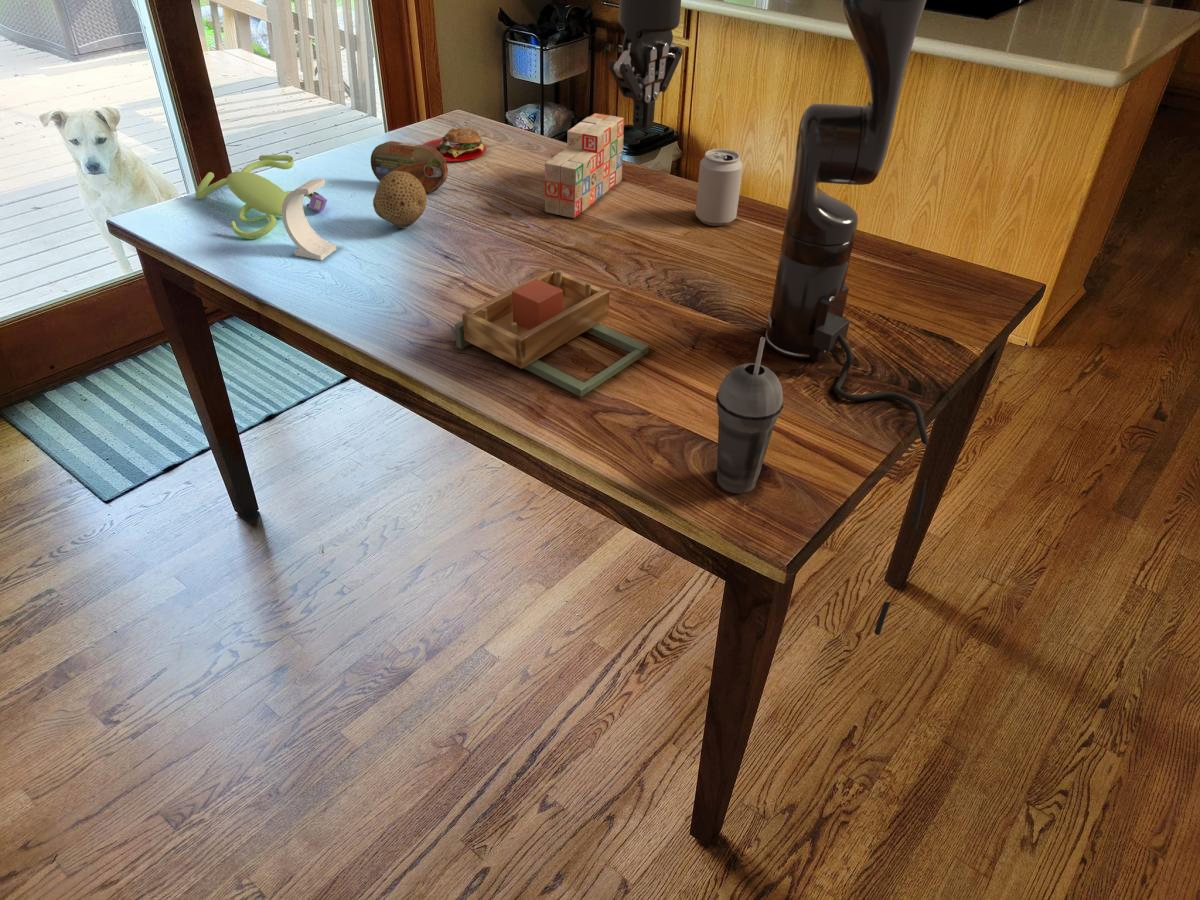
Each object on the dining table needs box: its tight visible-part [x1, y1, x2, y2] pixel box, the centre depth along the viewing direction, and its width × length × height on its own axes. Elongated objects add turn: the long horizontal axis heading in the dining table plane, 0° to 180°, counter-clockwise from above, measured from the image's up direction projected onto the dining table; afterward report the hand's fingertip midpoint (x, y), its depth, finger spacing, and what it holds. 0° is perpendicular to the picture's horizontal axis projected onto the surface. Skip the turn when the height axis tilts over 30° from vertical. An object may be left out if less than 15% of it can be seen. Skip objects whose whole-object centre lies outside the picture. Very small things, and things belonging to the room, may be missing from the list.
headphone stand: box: [281, 178, 338, 261], centre depth 141 cm, size 5×6×12 cm
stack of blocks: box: [543, 112, 625, 219], centre depth 162 cm, size 21×6×12 cm, turn 155°
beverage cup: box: [715, 336, 784, 494], centre depth 95 cm, size 7×7×20 cm
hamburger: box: [422, 127, 487, 162], centre depth 181 cm, size 14×14×6 cm
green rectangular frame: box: [454, 320, 649, 398], centre depth 122 cm, size 21×19×4 cm
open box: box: [462, 267, 611, 370], centre depth 123 cm, size 11×18×5 cm, turn 140°
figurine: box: [194, 154, 328, 240], centre depth 157 cm, size 18×27×6 cm
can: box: [694, 148, 744, 227], centre depth 155 cm, size 8×8×12 cm
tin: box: [370, 140, 449, 194], centre depth 164 cm, size 15×3×8 cm, turn 73°
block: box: [512, 279, 563, 330], centre depth 122 cm, size 5×5×5 cm
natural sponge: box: [372, 171, 427, 229], centre depth 149 cm, size 9×9×10 cm
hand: (643, 128), depth 116 cm, fingers closed
